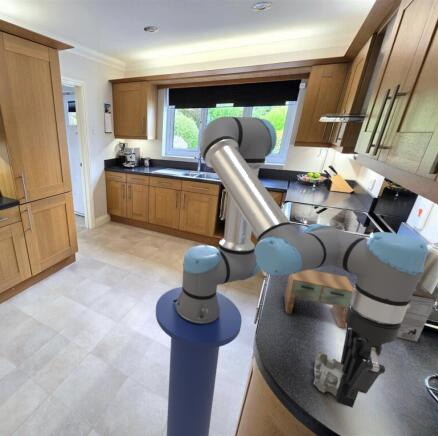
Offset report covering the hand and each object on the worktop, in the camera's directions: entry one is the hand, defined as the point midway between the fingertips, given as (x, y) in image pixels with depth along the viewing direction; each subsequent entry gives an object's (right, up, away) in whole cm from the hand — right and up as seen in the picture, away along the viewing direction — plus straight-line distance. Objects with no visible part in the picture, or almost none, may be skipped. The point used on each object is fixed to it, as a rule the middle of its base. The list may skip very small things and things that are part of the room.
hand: (343, 401), depth 53 cm
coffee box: (+39, +4, +26) cm, 47 cm away
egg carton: (+4, -1, +9) cm, 10 cm away
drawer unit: (+16, +7, +34) cm, 38 cm away
